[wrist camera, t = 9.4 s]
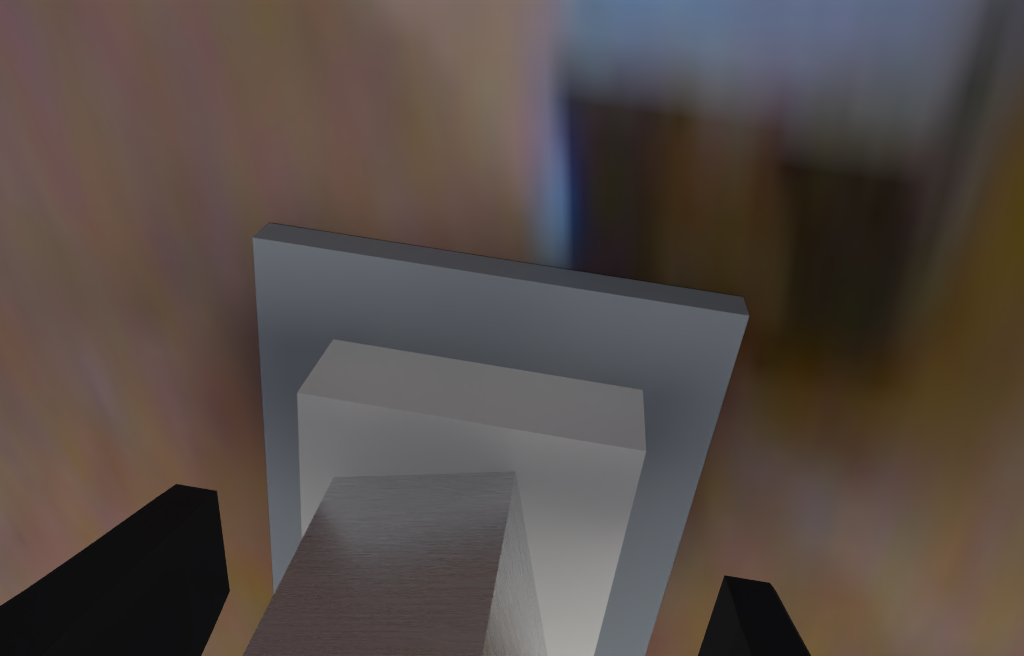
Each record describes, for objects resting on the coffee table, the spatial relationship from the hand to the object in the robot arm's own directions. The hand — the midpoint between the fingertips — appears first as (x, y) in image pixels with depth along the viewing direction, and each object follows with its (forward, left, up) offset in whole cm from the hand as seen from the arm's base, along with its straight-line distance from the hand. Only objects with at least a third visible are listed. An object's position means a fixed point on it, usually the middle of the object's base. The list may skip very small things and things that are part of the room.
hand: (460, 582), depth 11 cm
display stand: (+1, +7, -10) cm, 12 cm away
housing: (+1, +7, -6) cm, 9 cm away
